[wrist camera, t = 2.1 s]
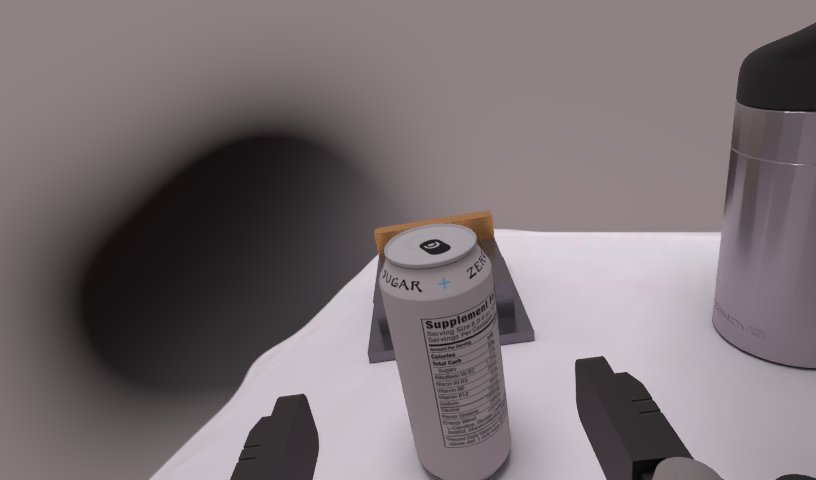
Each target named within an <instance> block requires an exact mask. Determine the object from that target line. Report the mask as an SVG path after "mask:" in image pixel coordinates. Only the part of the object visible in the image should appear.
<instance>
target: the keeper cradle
mask: <svg viewBox="0 0 816 480" xmlns="http://www.w3.org/2000/svg"><path fill="white" fill-rule="evenodd" d="M432 224H456V225H461V226H464V227H467V228H469V229H471V230H472V231H473V232H474V233H475V234H476V238H477V245H478V246H479V247H480V248H481V250H482V251H483V252H484V253H485V255H486V256H487V257H488V258H489V260H490V262H491V265H492V273H493V282H494V291H495V300H496V309H497V318H498V327H499V337H500V345H505V344H512V343H519V342H527V341H534V330H533V328H532V325H531V323H530V321H529V318H528V316H527V313H526V311H525V309H524V306H523V304H522V301H521V299H520V297H519V294H518V292H517V290H516V287H515V285H514V282H513V280H512V278H511V275H510V273H509V270H508V268H507V266H506V263H505V261H504V258H503V256H502V255H501V253H500V251H499V248H498V246H497V243H496V241H495V239H494V230H493V221H492V215H491V212H490V211H483V212H477V213H470V214H464V215H458V216H451V217H445V218H439V219H433V220H426V221H420V222H413V223H407V224H401V225H394V226H388V227H382V228H376V229H375V239H376V244H377V248H378V253H379V261H378V269H377V276H376V284H375V291H374V299H373V303H374V308H373V316H372V324H371V332H370V340H369V348H368V357H369V361H370V363H374V362H381V361H389V360H396V357H395V352H394V348H393V343H392V339H391V334H390V330H389V325H388V321H387V316H386V312H385V307H384V303H383V298H382V294H381V289H380V285H379V278H380V274H381V271H382V268H383V265H384V263H385V260H386V257H385V254H384V248H385V246H386V244H387V243H388V242H389V241H390V240H391V239H392V238H394V237H395V236H397V235H398V234H400V233H402V232H405V231H407V230H410V229H413V228H416V227H421V226H425V225H432Z"/></svg>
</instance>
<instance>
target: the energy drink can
mask: <svg viewBox="0 0 816 480" xmlns="http://www.w3.org/2000/svg"><path fill="white" fill-rule="evenodd" d="M384 254H385V257H386V260H385V263H384V265H383V268H382V271H381V274H380V278H379V285H380V289H381V294H382V298H383V303H384V307H385V312H386V316H387V321H388V325H389V330H390V334H391V339H392V343H393V348H394V352H395V357H396V361H397V366H398V370H399V375H400V379H401V384H402V388H403V393H404V397H405V402H406V406H407V410H408V415H409V419H410V424H411V428H412V433H413V437H414V442H415V446H416V451H417V454H418V458H419V459H420V461H421V463H422V465H423V466H424V467H425V468H426V469H427V470H428V471H429V472H431V473H432V474H433V475H435V476H437V477H439V478H440V479H442V480H485V479H487V478H489V477H490V476H491V475H493V474H494V473H495V471H496V470H497V469H498V468H499V467H500V466H501V465H502V464H503V463H504V461H505V460H506V458H507V456H508V454H509V451H510V447H511V437H510V428H509V419H508V409H507V400H506V391H505V382H504V373H503V364H502V355H501V346H500V337H499V327H498V318H497V309H496V300H495V291H494V282H493V273H492V265H491V262H490V260H489V258H488V257H487V256H486V255H485V253H484V252H483V251H482V250H481V248H480V247H479V246H478V245H477V238H476V234H475V233H474V232H473V231H472V230H471V229H469V228H467V227H464V226H461V225H456V224H432V225H425V226H421V227H416V228H413V229H410V230H407V231H405V232H402V233H400V234H398V235H397V236H395V237H394V238H392V239H391V240H390V241H389V242H388V243H387V244H386V246H385V248H384Z"/></svg>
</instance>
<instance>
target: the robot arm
mask: <svg viewBox="0 0 816 480" xmlns="http://www.w3.org/2000/svg"><path fill="white" fill-rule="evenodd" d="M736 99H737V100H736V104H735V113H734V123H733V131H732V140H731V151H730V160H729V170H728V179H727V188H726V197H725V206H724V215H723V224H722V233H721V242H720V251H719V261H718V270H717V278H716V288H715V298H714V308H713V318H712V320H713V323H714V326H715V328H716V329H717V331H718V332H719V333H720V335H722V336H723V337H724V338H725V339H726V340H727V341H729V342H730V343H732V344H733V345H735V346H736V347H738V348H740V349H741V350H744V351H746V352H748V353H750V354H752V355H755V356H757V357H760V358H763V359H766V360H769V361H772V362H777V363H781V364H785V365H790V366H797V367H805V368H816V23H814V24H812V25H810V26H808V27H806V28H804V29H802V30H800V31H798V32H795V33H793V34H791V35H789V36H786V37H784V38H782V39H779V40H776V41H774V42H772V43H769V44H767V45H765V46H762V47H760V48H758V49H757V50H755V51H753V52H752V53H750V54H749V55H748V56H747V57H746V58H745V60H744V61H743V63H742V65H741V68H740V72H739V78H738V86H737V95H736ZM575 374H576V403H577V409H578V414H579V417H580V420H581V423H582V425H583V428H584V430H585V432H586V434H587V437H588V439H589V441H590V443H591V445H592V448H593V450H594V452H595V454H596V457H597V459H598V461H599V463H600V465H601V468H602V470H603V472H604V474H605V477H606V479H607V480H723V479H722V478H721V477H720V476H719V475H718V474H717V473H716V472H715V471H714V470H713V469H711V468H710V467H708V466H707V465H705V464H703V463H701V462H699V461H696V460H694V458H693V457H692V456H691V454H690V453H689V451H688V450H687V448H686V447H685V446H684V444H683V443H682V441H681V440H680V438H679V437H678V435H677V434H676V432H675V431H674V429H673V428H672V426H671V425H670V423H669V422H668V420H667V419H666V418H665V416H664V415H663V413H661V411H660V409H659V407H658V406H657V404H656V403H655V401H653V400H652V397H651V395H650V394H649V392H648V391H647V390H646V388H645V387H644V385H643V384H642V383H641V382H640V381H638V380H637V379H635V378H634V377H633V376H631V375H630V374H628V373H627V372H623V373H614V372H613V370H612V369H611V367H610V365H609V364H608V362H607V360H606V359H605V358H604V357H603V356H601V357H593V358H585V359H577V360H576V362H575ZM318 452H319V438H318V432H317V429H316V425H315V422H314V419H313V416H312V413H311V410H310V406H309V403H308V400H307V397H306V396H305V395H304V394H298V395H291V396H283V397H279V398H278V399H277V401H276V404H275V406H274V409H273V412H272V414H271V416H267V417H262V418H261V419H260V420H259V421H258V423H257V424H256V425H255V426H254V427H253V428H252V430H251V431H250V432H249V435H248V437H247V440H246V442H245V445H244V450H242V452H241V454H240V457H239V462H238V463H237V464H236V467H235V469H234V472H233V474H232V476H231V479H230V480H313V475H314V471H315V466H316V462H317V457H318ZM776 480H816V478H813V477H809V476H805V475H798V474H789V475H784V476H781V477H779V478H777V479H776Z"/></svg>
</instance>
